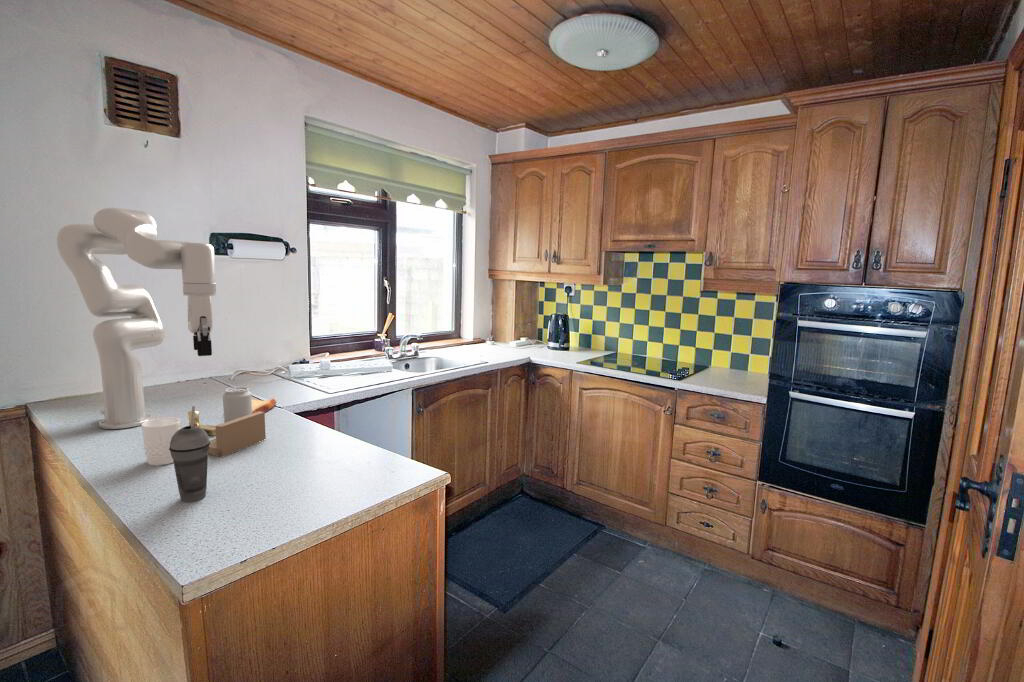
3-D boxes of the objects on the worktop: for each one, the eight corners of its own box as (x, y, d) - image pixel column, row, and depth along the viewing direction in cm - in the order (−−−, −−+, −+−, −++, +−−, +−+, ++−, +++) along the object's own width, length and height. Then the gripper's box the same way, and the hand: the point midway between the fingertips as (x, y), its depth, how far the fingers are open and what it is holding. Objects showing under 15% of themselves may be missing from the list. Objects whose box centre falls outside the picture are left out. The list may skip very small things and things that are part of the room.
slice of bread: (234, 424, 153) (234, 413, 152) (214, 412, 164) (213, 401, 164) (292, 413, 166) (292, 402, 166) (269, 402, 178) (268, 392, 177)
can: (240, 432, 145) (238, 392, 143) (218, 430, 146) (216, 390, 145) (258, 424, 152) (256, 386, 150) (237, 422, 154) (235, 385, 152)
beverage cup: (185, 489, 108) (179, 401, 105) (219, 489, 109) (214, 401, 106) (164, 505, 101) (157, 411, 98) (202, 505, 102) (196, 411, 99)
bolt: (187, 431, 138) (186, 412, 137) (195, 428, 140) (194, 409, 139) (212, 435, 135) (211, 416, 134) (220, 433, 137) (219, 413, 136)
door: (149, 442, 135) (147, 414, 134) (196, 427, 148) (194, 401, 147) (223, 456, 127) (221, 426, 126) (265, 439, 140) (264, 412, 139)
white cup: (141, 468, 118) (138, 428, 117) (147, 457, 125) (144, 419, 124) (181, 463, 122) (178, 424, 120) (184, 452, 129) (182, 415, 127)
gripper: (180, 287, 137) (183, 348, 139) (185, 292, 123) (189, 359, 126) (211, 287, 141) (214, 346, 144) (220, 292, 128) (223, 357, 131)
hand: (202, 352), depth 135 cm, fingers open, 9 cm apart
